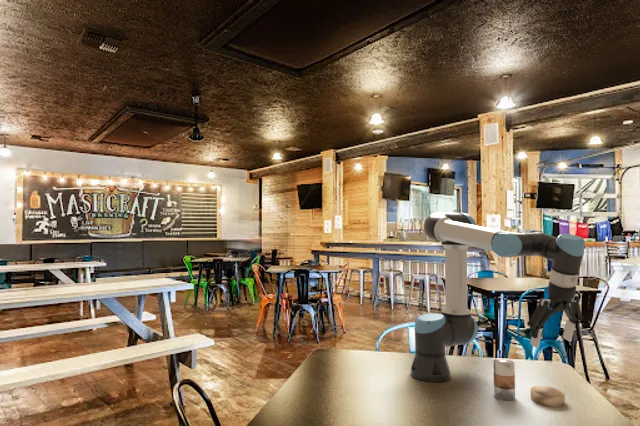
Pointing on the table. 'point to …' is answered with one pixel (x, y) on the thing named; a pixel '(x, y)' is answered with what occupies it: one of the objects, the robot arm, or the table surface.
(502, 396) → the can
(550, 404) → the stand
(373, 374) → the table surface
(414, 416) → the table surface
